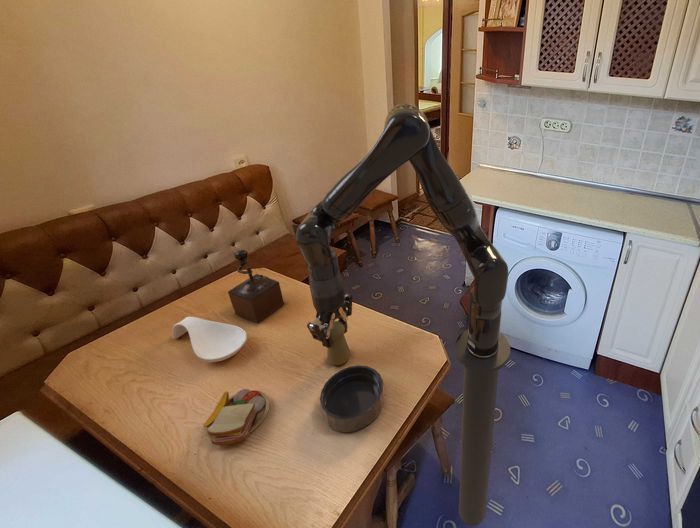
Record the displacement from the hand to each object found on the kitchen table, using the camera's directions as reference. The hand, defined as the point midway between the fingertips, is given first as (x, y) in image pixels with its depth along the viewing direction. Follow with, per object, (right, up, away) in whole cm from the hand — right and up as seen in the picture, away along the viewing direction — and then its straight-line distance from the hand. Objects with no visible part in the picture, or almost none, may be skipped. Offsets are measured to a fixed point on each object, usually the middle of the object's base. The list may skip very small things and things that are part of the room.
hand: (336, 338), depth 95 cm
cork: (0, -6, +3) cm, 7 cm away
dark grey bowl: (+8, -12, -9) cm, 17 cm away
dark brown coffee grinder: (-34, +2, +21) cm, 40 cm away
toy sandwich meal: (-17, -14, -13) cm, 26 cm away
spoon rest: (-38, -4, +6) cm, 39 cm away
